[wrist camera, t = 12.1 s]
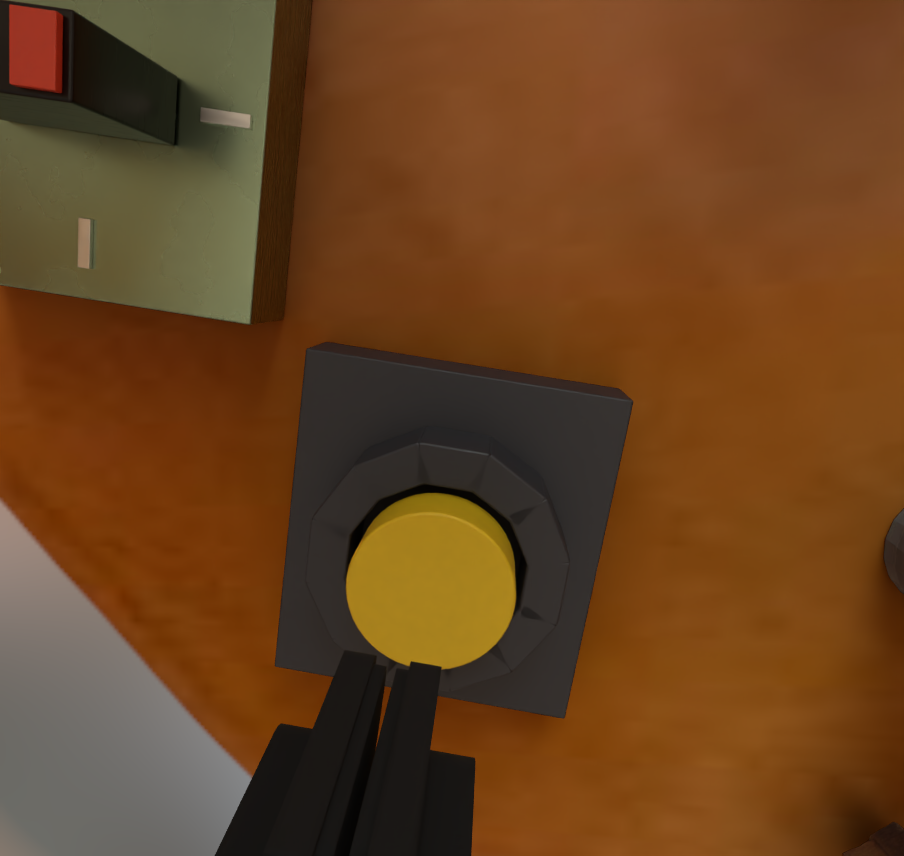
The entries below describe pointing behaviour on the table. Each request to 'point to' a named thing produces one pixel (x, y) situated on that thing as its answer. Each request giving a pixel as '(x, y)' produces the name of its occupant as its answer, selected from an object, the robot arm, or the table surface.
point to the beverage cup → (895, 551)
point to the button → (432, 581)
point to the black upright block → (80, 77)
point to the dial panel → (170, 170)
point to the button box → (461, 474)
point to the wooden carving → (882, 843)
